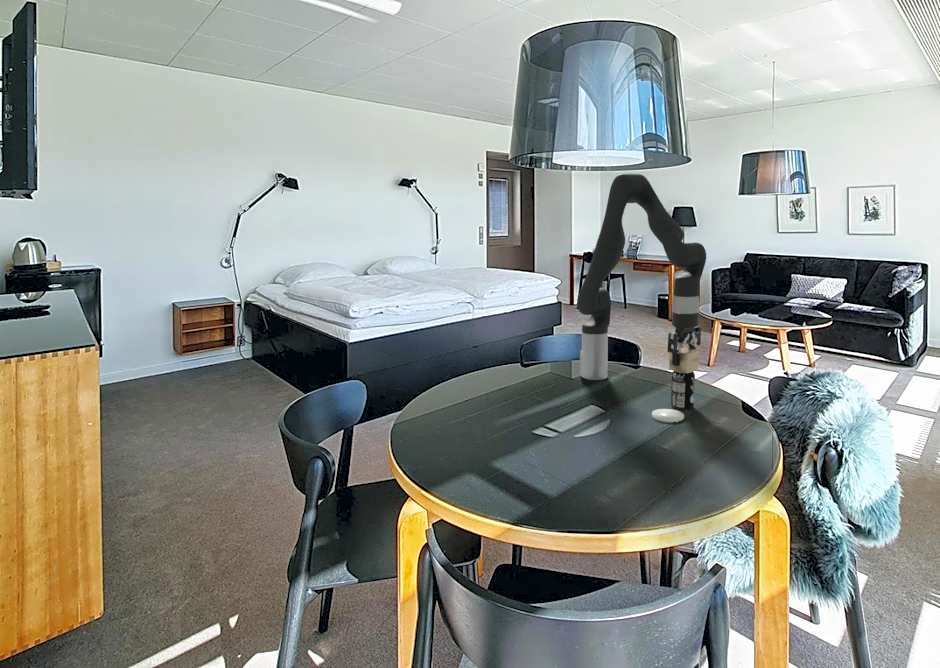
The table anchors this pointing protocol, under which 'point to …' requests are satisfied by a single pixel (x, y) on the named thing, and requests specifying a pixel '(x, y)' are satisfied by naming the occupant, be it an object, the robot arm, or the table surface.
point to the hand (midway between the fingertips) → (683, 362)
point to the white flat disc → (667, 415)
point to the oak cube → (686, 361)
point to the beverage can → (682, 390)
